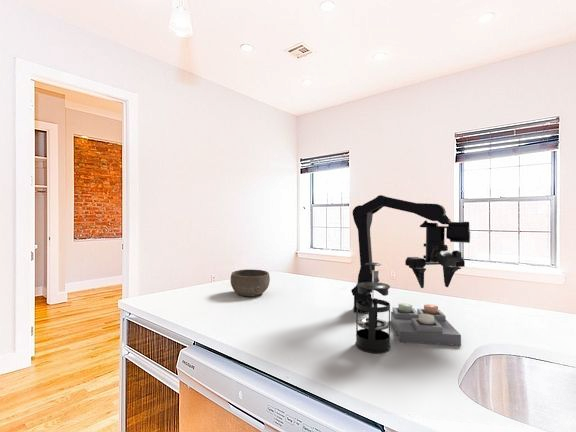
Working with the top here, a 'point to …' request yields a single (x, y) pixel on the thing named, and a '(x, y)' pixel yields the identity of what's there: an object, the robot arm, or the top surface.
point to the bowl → (250, 282)
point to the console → (424, 328)
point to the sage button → (405, 307)
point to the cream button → (426, 318)
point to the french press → (372, 318)
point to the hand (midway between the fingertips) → (434, 287)
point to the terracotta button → (430, 308)
